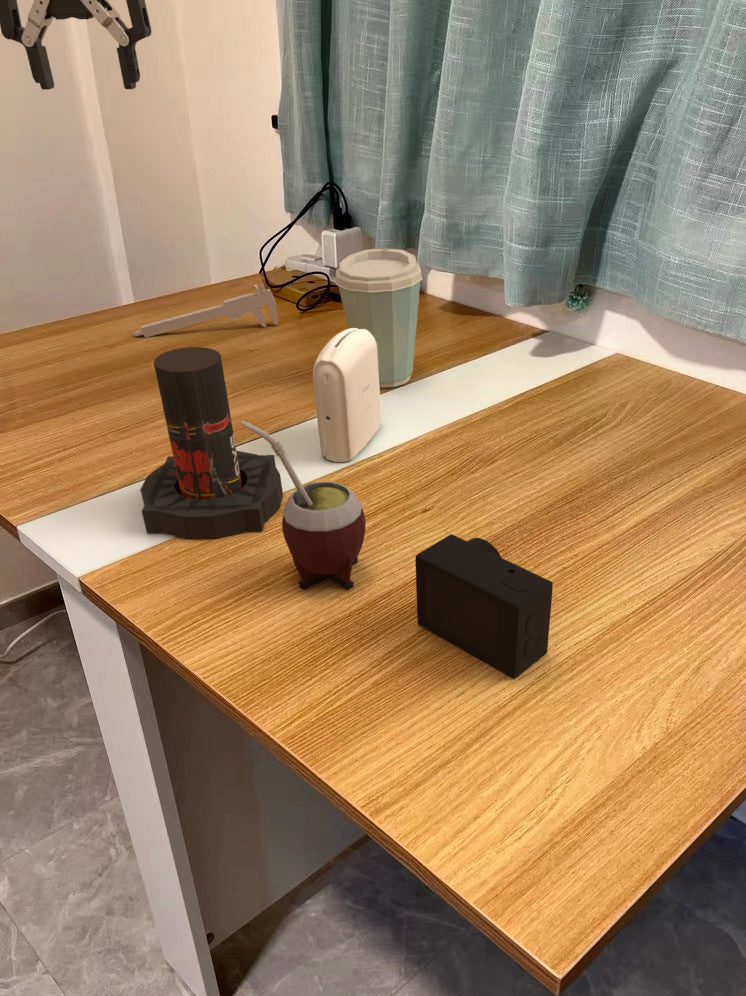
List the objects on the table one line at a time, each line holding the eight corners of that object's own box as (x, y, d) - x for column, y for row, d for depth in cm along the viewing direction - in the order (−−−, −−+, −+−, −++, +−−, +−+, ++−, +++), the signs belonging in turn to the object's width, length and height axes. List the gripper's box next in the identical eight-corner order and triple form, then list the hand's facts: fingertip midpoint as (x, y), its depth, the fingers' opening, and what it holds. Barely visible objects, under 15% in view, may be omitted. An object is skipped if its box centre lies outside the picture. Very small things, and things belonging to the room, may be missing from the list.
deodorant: (180, 494, 91) (150, 352, 82) (238, 483, 92) (215, 343, 83) (188, 522, 86) (157, 375, 77) (249, 511, 88) (225, 366, 79)
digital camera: (558, 646, 71) (564, 574, 67) (516, 680, 68) (520, 607, 63) (460, 595, 76) (461, 526, 72) (417, 624, 73) (415, 553, 69)
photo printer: (352, 465, 95) (343, 354, 88) (315, 460, 96) (304, 350, 89) (386, 425, 103) (381, 320, 96) (352, 421, 104) (344, 316, 97)
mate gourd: (384, 574, 79) (375, 419, 70) (313, 611, 75) (294, 451, 66) (332, 541, 83) (317, 391, 74) (262, 575, 79) (238, 420, 70)
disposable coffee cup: (417, 398, 109) (413, 274, 100) (332, 392, 111) (321, 270, 102) (432, 365, 118) (429, 248, 109) (353, 361, 119) (344, 245, 110)
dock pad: (131, 540, 84) (125, 517, 82) (164, 472, 94) (159, 451, 93) (272, 537, 84) (269, 515, 82) (289, 470, 95) (286, 449, 93)
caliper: (278, 324, 131) (272, 280, 127) (278, 326, 130) (273, 283, 126) (134, 336, 127) (125, 291, 124) (134, 338, 126) (124, 294, 123)
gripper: (-48, -113, 80) (7, 94, 89) (112, -113, 80) (149, 93, 90) (-15, -109, 86) (33, 84, 95) (134, -109, 86) (166, 83, 96)
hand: (89, 88), depth 92 cm, fingers open, 8 cm apart
